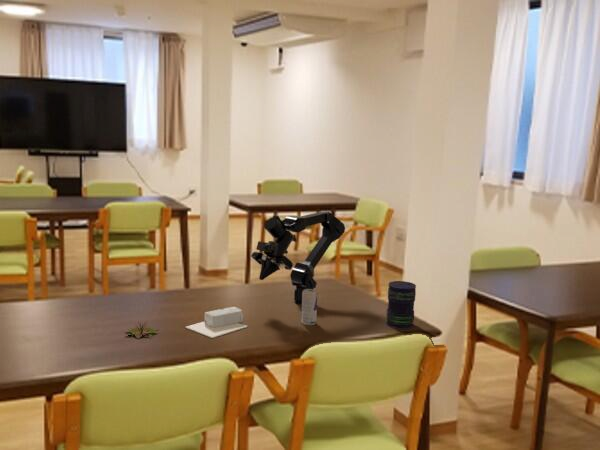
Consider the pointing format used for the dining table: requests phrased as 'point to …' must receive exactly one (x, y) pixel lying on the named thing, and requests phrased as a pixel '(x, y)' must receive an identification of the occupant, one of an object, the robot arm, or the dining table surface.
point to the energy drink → (309, 306)
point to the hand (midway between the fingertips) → (260, 279)
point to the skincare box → (223, 317)
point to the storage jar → (401, 304)
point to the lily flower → (141, 330)
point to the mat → (215, 329)
